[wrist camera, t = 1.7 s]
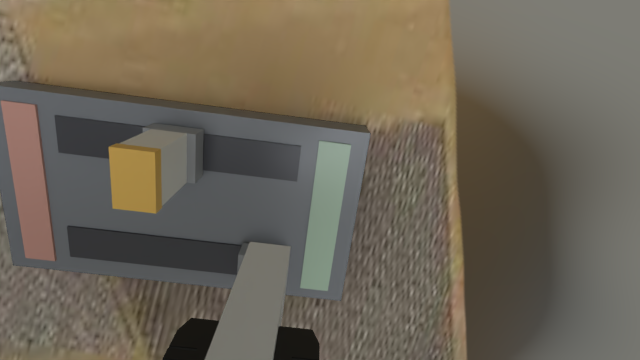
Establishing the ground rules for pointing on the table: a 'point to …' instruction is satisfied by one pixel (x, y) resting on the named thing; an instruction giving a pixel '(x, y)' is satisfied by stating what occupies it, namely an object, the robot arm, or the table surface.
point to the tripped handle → (154, 166)
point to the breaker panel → (189, 201)
